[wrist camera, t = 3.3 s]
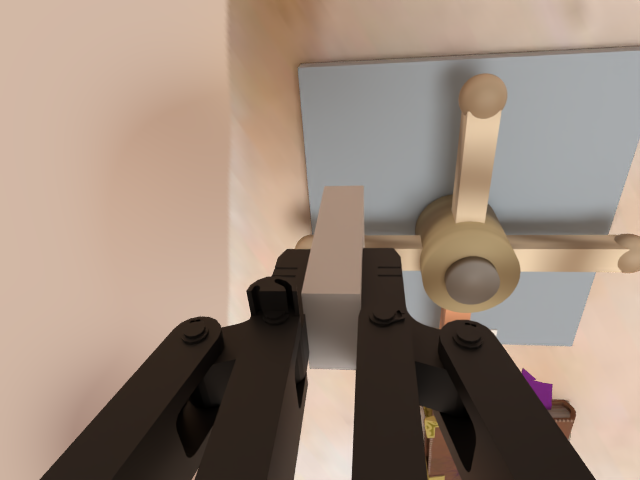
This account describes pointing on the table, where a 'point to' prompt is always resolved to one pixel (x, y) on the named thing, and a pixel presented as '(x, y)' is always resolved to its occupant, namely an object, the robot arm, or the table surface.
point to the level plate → (509, 163)
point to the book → (437, 453)
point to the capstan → (488, 227)
